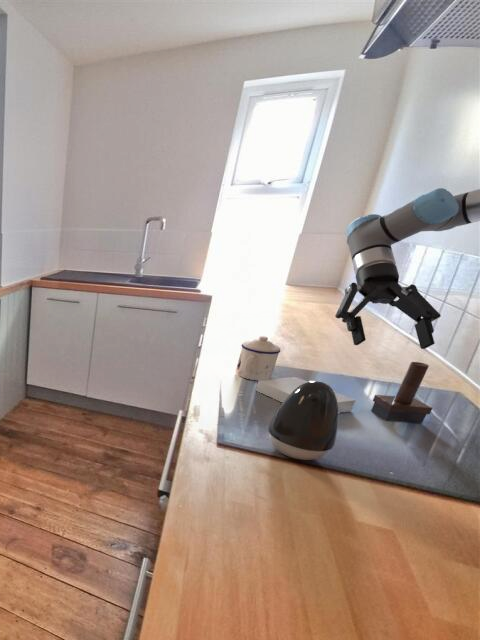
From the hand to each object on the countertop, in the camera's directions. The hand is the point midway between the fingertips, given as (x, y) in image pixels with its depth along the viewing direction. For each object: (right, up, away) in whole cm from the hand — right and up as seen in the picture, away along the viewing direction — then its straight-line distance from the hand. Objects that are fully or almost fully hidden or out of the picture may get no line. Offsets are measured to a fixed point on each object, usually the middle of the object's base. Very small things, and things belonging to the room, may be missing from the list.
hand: (393, 344), depth 97 cm
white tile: (-17, -14, +6) cm, 23 cm away
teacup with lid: (-20, -8, +20) cm, 29 cm away
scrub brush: (-2, -17, -2) cm, 17 cm away
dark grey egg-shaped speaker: (-36, -23, -16) cm, 46 cm away
